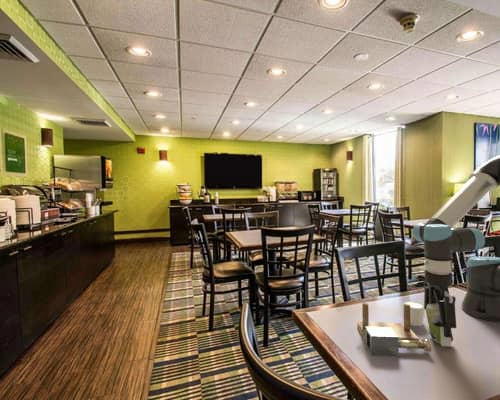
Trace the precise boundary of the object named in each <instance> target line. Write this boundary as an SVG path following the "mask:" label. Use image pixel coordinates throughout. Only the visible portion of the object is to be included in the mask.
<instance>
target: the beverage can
mask: <svg viewBox="0 0 500 400" xmlns="http://www.w3.org/2000/svg"><path fill="white" fill-rule="evenodd" d="M425 313H426V318H427V323H428V330H429V329H430V334H429V335H430V338H431V339H432V340H434V341H435V342H436V343H439V344H441V336H440V325H442V321H441V316H440V311H439V306H438V304H437V303H433V304H431V303H430V304H428V305H427V307H426V310H425ZM453 340H454V336H453V332H452V330H451V343H452V342H453Z"/></svg>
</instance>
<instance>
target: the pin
mask: <svg viewBox="0 0 500 400" xmlns="http://www.w3.org/2000/svg"><path fill="white" fill-rule="evenodd" d="M398 348H399V349H412V350H415V349H416V350H423V351H424V352H426V353H430V352H432V347H431V342H430V341H429V339H428V338H421V340H419V341H405V340H398Z"/></svg>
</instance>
